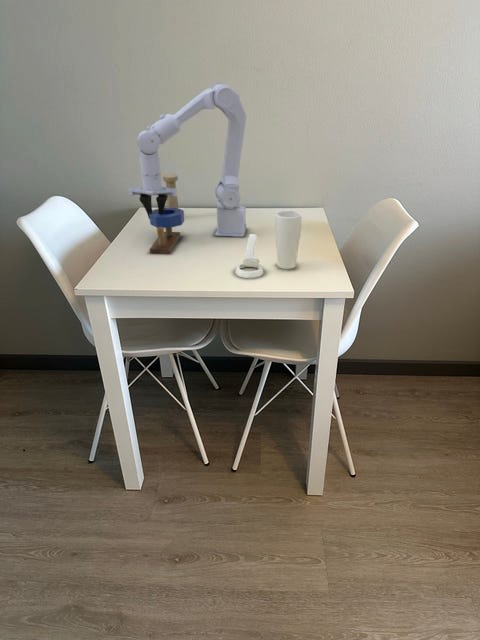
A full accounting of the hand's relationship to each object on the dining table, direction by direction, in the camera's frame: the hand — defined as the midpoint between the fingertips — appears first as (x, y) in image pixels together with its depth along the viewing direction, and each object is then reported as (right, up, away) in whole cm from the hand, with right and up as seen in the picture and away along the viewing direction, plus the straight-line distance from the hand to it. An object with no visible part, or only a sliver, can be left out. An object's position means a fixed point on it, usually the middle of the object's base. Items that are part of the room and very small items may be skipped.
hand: (155, 218), depth 147 cm
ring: (+4, -1, 0) cm, 4 cm away
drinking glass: (+40, -17, -16) cm, 46 cm away
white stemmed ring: (+29, -19, -20) cm, 40 cm away
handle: (+2, +5, +22) cm, 23 cm away
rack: (+3, -8, -1) cm, 9 cm away
